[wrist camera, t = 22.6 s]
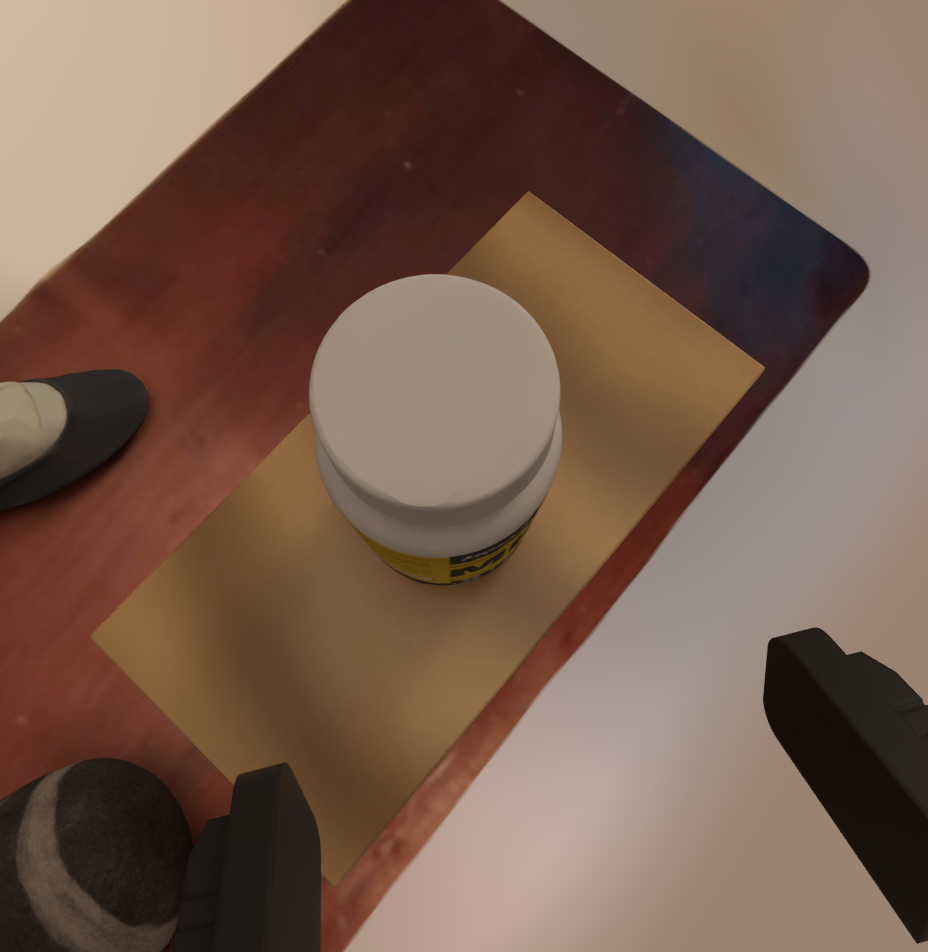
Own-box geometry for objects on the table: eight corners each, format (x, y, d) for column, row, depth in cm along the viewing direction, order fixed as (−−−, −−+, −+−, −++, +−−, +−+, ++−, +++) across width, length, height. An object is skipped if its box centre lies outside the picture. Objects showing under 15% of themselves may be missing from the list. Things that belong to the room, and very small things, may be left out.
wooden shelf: (490, 461, 52) (528, 189, 21) (582, 538, 51) (767, 367, 20) (327, 643, 49) (86, 636, 18) (419, 731, 47) (334, 890, 16)
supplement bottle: (464, 623, 18) (463, 603, 10) (324, 519, 19) (214, 419, 10) (566, 480, 19) (644, 353, 11) (430, 386, 20) (404, 199, 11)
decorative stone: (133, 700, 48) (48, 714, 38) (266, 861, 45) (212, 919, 36) (-101, 918, 45) (-258, 993, 35) (29, 1105, 42) (-101, 1241, 32)
